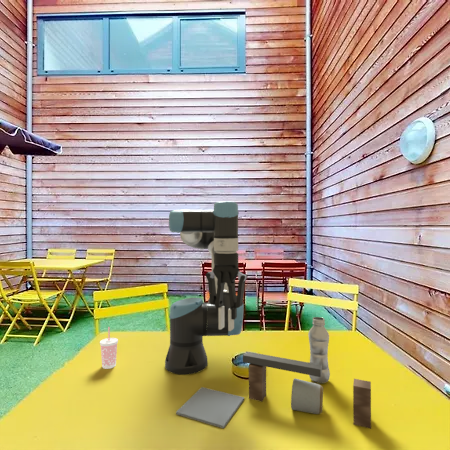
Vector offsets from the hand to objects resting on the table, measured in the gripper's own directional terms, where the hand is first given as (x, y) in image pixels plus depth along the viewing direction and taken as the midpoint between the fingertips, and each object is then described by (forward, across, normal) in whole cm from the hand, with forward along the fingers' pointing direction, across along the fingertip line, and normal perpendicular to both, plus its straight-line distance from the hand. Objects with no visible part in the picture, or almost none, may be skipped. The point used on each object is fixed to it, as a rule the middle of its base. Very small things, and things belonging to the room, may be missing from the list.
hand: (226, 328), depth 95 cm
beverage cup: (+19, -45, -3) cm, 49 cm away
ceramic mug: (+19, +24, +1) cm, 30 cm away
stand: (+19, +24, 0) cm, 30 cm away
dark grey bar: (+9, +17, 0) cm, 19 cm away
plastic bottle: (+19, +25, +17) cm, 36 cm away
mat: (+19, 0, -10) cm, 21 cm away
